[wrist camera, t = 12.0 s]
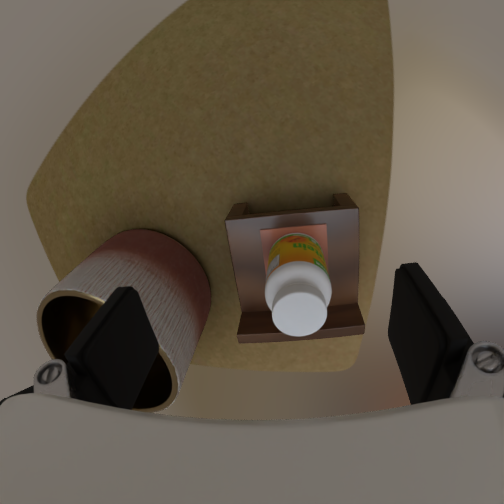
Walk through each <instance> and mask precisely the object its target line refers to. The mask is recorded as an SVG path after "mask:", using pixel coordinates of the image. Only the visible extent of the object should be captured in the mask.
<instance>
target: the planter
mask: <svg viewBox="0 0 504 504" xmlns="http://www.w3.org/2000/svg"><path fill="white" fill-rule="evenodd" d="M125 286H131V287H133V288H134V290H137V291H138V293H139V296H140V298H141V301H142V303H143V306H144V309H145V311H146V314H147V316H148V319H149V321H150V324H151V326H152V329H153V331H154V333H155V336H156V338H157V340H158V343H159V352H158V354H157V356H156V358H155V360H154V362H153V365H152V367H151V369H150V371H149V373H148V375H147V377H146V380H145V382H144V384H143V386H142V388H141V390H140V393H139V395H138V397H137V399H136V401H135V404H134V406H133V408H132V410H134V411H141V412H148V413H153V412H158V411H161V410H164V409H166V408H168V407H169V406H170V405H172V403H173V402H174V401H175V400H176V398H177V396H178V394H179V391H180V389H181V386H182V383H183V380H184V377H185V375H186V372H187V370H188V367H189V364H190V362H191V359H192V356H193V354H194V351H195V349H196V346H197V344H198V341H199V339H200V336H201V334H202V331H203V328H204V326H205V323H206V321H207V318H208V314H209V311H210V306H211V291H210V286H209V282H208V279H207V277H206V274H205V272H204V270H203V269H202V267H201V265H200V264H199V262H198V261H197V260H196V258H195V257H194V256H193V255H192V254H191V253H190V252H189V251H188V250H187V249H186V248H185V247H184V246H182V245H181V244H180V243H178V242H177V241H175V240H174V239H172V238H170V237H168V236H166V235H164V234H161V233H159V232H155V231H151V230H145V229H133V230H127V231H124V232H121V233H119V234H117V235H115V236H113V237H112V238H110V239H109V240H107V241H106V242H105V243H103V244H102V245H101V246H100V247H99V248H97V249H96V250H95V251H94V252H93V253H92V254H90V255H89V256H88V257H87V258H86V259H85V260H84V261H82V262H81V263H80V264H79V265H78V266H77V267H76V268H75V269H73V270H72V271H71V272H70V273H69V274H68V275H67V276H66V277H65V278H63V279H62V280H61V281H60V282H59V283H58V284H57V285H56V286H55V287H54V288H53V289H51V290H50V291H49V292H48V293H47V294H46V295H45V296H44V298H43V299H42V300H41V302H40V304H39V306H38V310H37V327H38V331H39V335H40V338H41V340H42V342H43V345H44V347H45V349H46V351H47V352H48V354H49V356H50V357H51V359H52V360H53V359H59V360H62V361H63V362H65V364H67V363H68V360H67V359H66V357H65V355H64V354H65V352H66V351H67V350H68V348H69V347H70V346H71V344H72V343H73V342H74V340H75V339H76V338H77V336H78V335H79V334H80V333H81V331H82V330H83V329H84V327H85V326H86V325H87V324H88V322H89V321H90V320H91V319H92V317H93V316H94V315H95V314H96V312H97V311H98V310H99V309H100V307H101V306H102V305H103V304H104V303H105V301H106V300H107V299H108V298H109V296H110V295H111V294H112V293H113V292H114V290H115V289H116V288H117V287H125Z"/></svg>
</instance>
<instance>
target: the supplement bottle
mask: <svg viewBox="0 0 504 504" xmlns="http://www.w3.org/2000/svg"><path fill="white" fill-rule="evenodd" d="M331 294H332V288H331V282H330V278H329V275H328V271H327V266H326V263H325V259H324V255H323V251H322V249H321V247H320V245H319V243H318V242H317V241H316V240H315V239H314V238H312V237H311V236H309V235H306V234H303V233H290V234H286V235H284V236H282V237H281V238H279V239H278V240H277V241H276V242H275V243H274V244H273V246H272V248H271V250H270V253H269V259H268V267H267V276H266V284H265V299H266V302H267V305H268V307H269V308H270V310H271V311H272V319H273V322H274V324H275V326H276V327H277V328H278V329H279V330H280V331H282V332H283V333H285V334H288V335H291V336H306V335H310V334H312V333H314V332H316V331H317V330H319V329H320V328H321V327H322V326H323V324H324V323H325V321H326V318H327V306H328V305H329V302H330V299H331Z"/></svg>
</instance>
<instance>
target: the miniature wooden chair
mask: <svg viewBox="0 0 504 504" xmlns="http://www.w3.org/2000/svg"><path fill="white" fill-rule="evenodd" d="M333 198H334V207H321V208H310V209H299V210H288V211H278V212H267V213H258V214H249V209H248V203H239V204H234V205H233V207H232V209H231V211H230V212H229V214H228V216H227V217H226V219H225V226H226V231H227V237H228V242H229V248H230V253H231V258H232V264H233V269H234V274H235V279H236V285H237V290H238V295H239V300H240V305H241V310H242V314H241V318H240V323H239V327H238V332H237V338H238V342H239V343H263V342H282V341H297V340H310V339H322V338H332V337H342V336H351V335H360V334H364V331H365V323H364V320H363V317H362V314H361V311H360V308H359V305H358V283H359V208H358V207H357V205H356V204H355V203H354V202H353V200H352V199H351V198H350V197H349V196H348V194H347V193H343V194H333ZM290 233H303V234H306V235H309V236H311V237H312V238H314V239H315V240H316V241H317V242H318V243H319V245H320V247H321V249H322V251H323V255H324V259H325V263H326V266H327V271H328V275H329V278H330V282H331V288H332V294H331V299H330V302H329V305H328V306H327V318H326V321H325V323H324V324H323V326H322V327H321V328H320V329H319V330H317V331H316V332H314V333H312V334H310V335H306V336H291V335H288V334H285V333H283V332H282V331H280V330H279V329H278V328H277V327H276V326H275V324H274V322H273V319H272V311H271V310H270V308H269V307H268V305H267V302H266V299H265V284H266V276H267V267H268V259H269V253H270V250H271V248H272V246H273V244H274V243H275V242H276V241H277V240H278V239H279V238H281V237H282V236H284V235H286V234H290Z"/></svg>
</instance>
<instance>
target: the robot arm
mask: <svg viewBox="0 0 504 504" xmlns="http://www.w3.org/2000/svg"><path fill="white" fill-rule="evenodd" d="M388 337H389V341H390V344H391V346H392V349H393V352H394V354H395V357H396V360H397V363H398V366H399V369H400V372H401V375H402V378H403V381H404V384H405V387H406V390H407V393H408V396H409V400H410V403H411V405H408V406H403V407H397V408H392V409H385V410H379V411H372V412H364V413H358V414H350V415H341V416H331V417H320V418H307V419H286V420H227V419H207V418H193V417H181V416H172V415H163V414H155V413H148V412H141V411H134V410H132V408H133V406H134V404H135V401H136V399H137V397H138V395H139V393H140V390H141V388H142V386H143V384H144V382H145V380H146V377H147V375H148V373H149V371H150V369H151V367H152V365H153V362H154V360H155V358H156V356H157V354H158V352H159V343H158V340H157V338H156V336H155V333H154V331H153V329H152V326H151V324H150V321H149V319H148V316H147V314H146V311H145V309H144V306H143V303H142V301H141V298H140V296H139V293H138V291H137V290H134V288H133V287H131V286H125V287H117V288H116V289H115V290H114V292H113V293H112V294H111V295H110V296H109V298H108V299H107V300H106V301H105V303H104V304H103V305H102V306H101V307H100V309H99V310H98V311H97V312H96V314H95V315H94V316H93V317H92V319H91V320H90V321H89V322H88V324H87V325H86V326H85V327H84V329H83V330H82V331H81V333H80V334H79V335H78V336H77V338H76V339H75V340H74V342H73V343H72V344H71V346H70V347H69V348H68V350H67V351H66V352H65V354H64V355H65V357H66V359H67V360H68V363H67V364H65V362H63V361H62V360H59V359H53V360H50V361H48V362H46V363H44V364H43V365H42V366H40V367H39V369H38V370H37V371H36V373H35V375H34V385H33V386H31V387H29V388H27V389H24V390H23V391H20V392H18V393H16V394H14V395H11V396H9V397H8V398H4V399H3V400H1V401H0V504H504V349H503V348H502V347H500V346H499V345H498V344H495V343H493V342H489V341H480V342H477V343H475V344H474V343H473V342H472V340H471V339H470V337H469V335H468V334H467V332H466V330H465V329H464V327H463V326H462V324H461V323H460V321H459V319H458V318H457V317H456V315H455V314H454V312H453V310H452V309H451V308H450V306H449V305H448V303H447V302H446V300H445V299H444V298H443V297H442V296H441V294H440V293H439V291H438V290H437V289H436V287H435V286H434V284H433V283H432V282H431V280H430V279H429V278H428V276H427V275H426V274H425V272H424V271H423V270H422V268H421V267H420V266H419V264H418V263H407V264H402V265H401V266H400V269H396V271H395V279H394V289H393V298H392V306H391V313H390V320H389V327H388Z"/></svg>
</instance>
